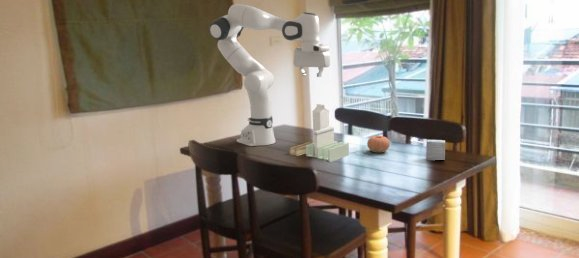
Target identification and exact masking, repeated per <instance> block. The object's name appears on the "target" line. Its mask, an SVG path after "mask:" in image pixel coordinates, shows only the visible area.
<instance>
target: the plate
mask: <svg viewBox="0 0 579 258" xmlns="http://www.w3.org/2000/svg"><path fill="white" fill-rule="evenodd" d="M332 142H335V127H334V126H329V127H328V128H325V129H321V130H318V131H314V144H315V157H317V147H319V146H322V145H325V144H328V143H332ZM315 157H314V158H315Z"/></svg>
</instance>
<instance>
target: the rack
mask: <svg viewBox="0 0 579 258" xmlns="http://www.w3.org/2000/svg"><path fill="white" fill-rule="evenodd" d="M349 144H350V143H349V142H346V143H344V142H343V141H340V142H338V140H334V142H332V143H328V144H325V145H322V146H319V147H317V157H315V144H314V143H313V142H312V144H309V145H306V153H305V156H306V157H312V158H316V159H320V160H327V161H326V162H327V163H332V162H335V161H337V160H340V159H342V158H345V157H347V156H349V155H350V154H349V153H350V151H349V150H350V149H349V148H350V145H349Z"/></svg>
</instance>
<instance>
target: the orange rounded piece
mask: <svg viewBox="0 0 579 258" xmlns="http://www.w3.org/2000/svg"><path fill="white" fill-rule="evenodd" d="M366 144H367V148H368V149H369V151H371V152H373V153H380V154H381V153H384V152H386V151H388V150H389V149H390V145H391V143H390V140H389V139H388V138H387V137H386V136H382V135H375V136H374V135H373V136H371V137H370V138H369V139H368V141H367V143H366Z"/></svg>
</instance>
